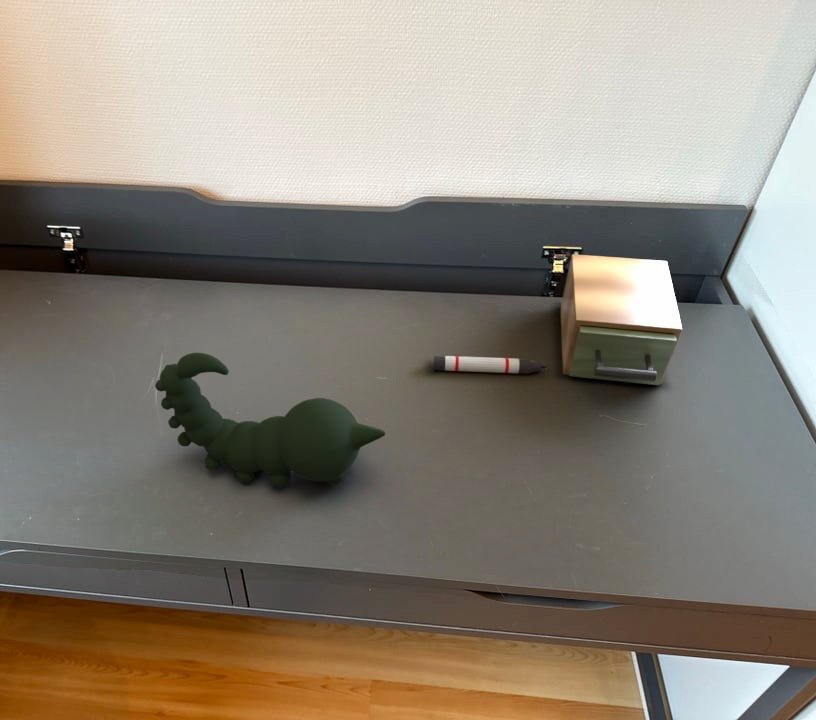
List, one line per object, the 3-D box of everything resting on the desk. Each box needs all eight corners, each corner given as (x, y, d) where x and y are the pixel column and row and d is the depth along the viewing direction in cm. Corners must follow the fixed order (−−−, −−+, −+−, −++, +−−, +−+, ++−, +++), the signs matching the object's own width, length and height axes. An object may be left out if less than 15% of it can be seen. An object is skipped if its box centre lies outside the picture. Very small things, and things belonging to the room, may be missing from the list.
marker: (433, 373, 97) (434, 362, 95) (433, 363, 98) (434, 352, 97) (547, 377, 95) (550, 366, 94) (546, 367, 96) (548, 356, 95)
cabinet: (661, 384, 93) (682, 329, 86) (562, 374, 95) (575, 319, 89) (649, 314, 103) (667, 260, 97) (560, 307, 106) (571, 253, 99)
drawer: (664, 409, 88) (681, 364, 83) (570, 399, 91) (581, 354, 85) (648, 319, 101) (662, 275, 96) (566, 312, 103) (575, 269, 98)
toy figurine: (183, 494, 86) (385, 513, 80) (132, 384, 73) (367, 396, 67) (209, 436, 92) (397, 449, 86) (166, 326, 80) (382, 331, 74)
